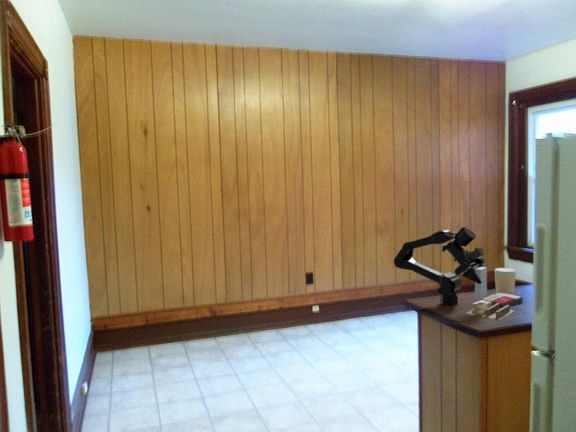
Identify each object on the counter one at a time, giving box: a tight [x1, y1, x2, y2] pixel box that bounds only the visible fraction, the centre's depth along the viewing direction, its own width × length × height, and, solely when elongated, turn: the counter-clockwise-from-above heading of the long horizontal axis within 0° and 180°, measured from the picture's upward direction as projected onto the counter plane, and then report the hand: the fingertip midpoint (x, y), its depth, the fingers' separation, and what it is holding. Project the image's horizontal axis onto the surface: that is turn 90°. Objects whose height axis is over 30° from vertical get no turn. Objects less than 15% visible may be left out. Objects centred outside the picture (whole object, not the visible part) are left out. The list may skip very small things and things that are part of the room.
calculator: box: [479, 292, 523, 308], centre depth 204 cm, size 11×4×15 cm
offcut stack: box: [471, 299, 492, 314], centre depth 193 cm, size 5×9×3 cm, turn 134°
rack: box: [466, 303, 516, 321], centre depth 191 cm, size 14×16×4 cm
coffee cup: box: [494, 267, 517, 295], centre depth 220 cm, size 9×9×12 cm
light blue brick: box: [474, 266, 488, 299], centre depth 193 cm, size 2×6×12 cm, turn 134°
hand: (484, 281), depth 192 cm, fingers closed on light blue brick, 6 cm apart
